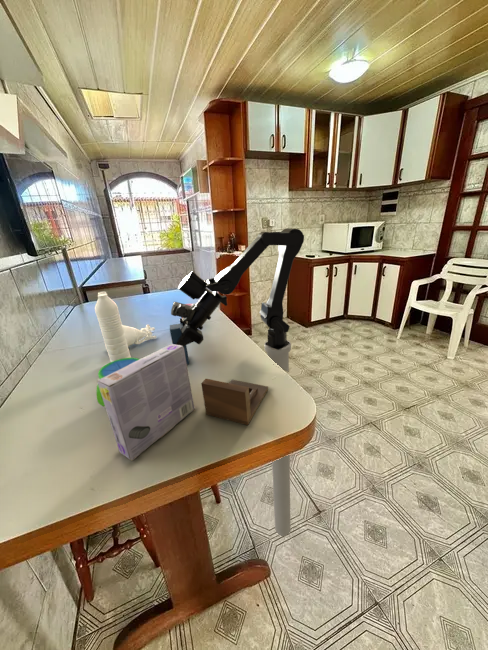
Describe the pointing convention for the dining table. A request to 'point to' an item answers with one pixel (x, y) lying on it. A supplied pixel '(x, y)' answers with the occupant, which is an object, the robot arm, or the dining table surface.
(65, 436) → the dining table surface
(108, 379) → the cake pan box
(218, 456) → the dining table surface
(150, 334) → the rocket engine
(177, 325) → the back pad
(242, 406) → the pad seat
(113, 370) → the snack cup
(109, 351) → the water bottle
